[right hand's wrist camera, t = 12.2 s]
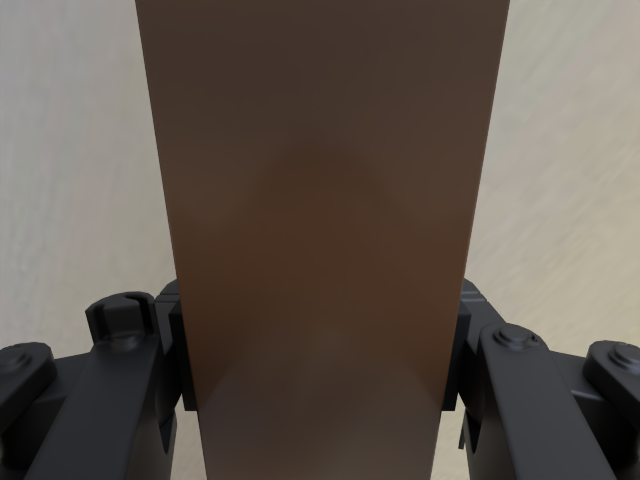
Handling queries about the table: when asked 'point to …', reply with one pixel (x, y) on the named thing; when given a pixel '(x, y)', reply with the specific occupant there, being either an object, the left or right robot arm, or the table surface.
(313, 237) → the walnut plank
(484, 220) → the table surface
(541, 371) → the right robot arm
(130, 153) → the table surface
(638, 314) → the table surface
